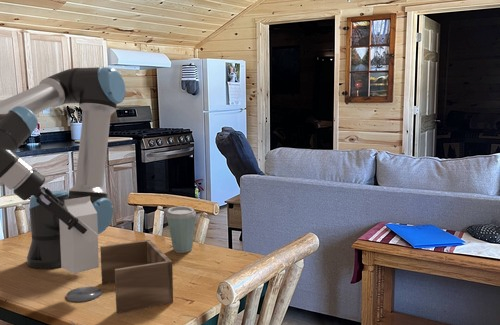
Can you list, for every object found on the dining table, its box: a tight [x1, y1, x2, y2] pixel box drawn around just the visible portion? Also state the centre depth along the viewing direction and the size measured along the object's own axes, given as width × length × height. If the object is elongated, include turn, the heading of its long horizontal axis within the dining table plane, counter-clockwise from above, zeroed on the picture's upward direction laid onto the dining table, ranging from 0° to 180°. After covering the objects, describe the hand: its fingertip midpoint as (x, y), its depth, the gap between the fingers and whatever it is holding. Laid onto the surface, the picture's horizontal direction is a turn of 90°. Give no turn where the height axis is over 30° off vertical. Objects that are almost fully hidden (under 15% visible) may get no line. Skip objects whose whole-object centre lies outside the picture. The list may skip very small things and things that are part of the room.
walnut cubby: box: [100, 239, 174, 314], centre depth 130 cm, size 22×14×11 cm, turn 27°
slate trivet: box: [65, 286, 102, 303], centre depth 129 cm, size 9×9×1 cm
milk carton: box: [59, 196, 100, 274], centre depth 126 cm, size 7×7×19 cm
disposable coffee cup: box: [165, 205, 197, 254], centre depth 167 cm, size 11×11×15 cm
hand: (91, 234), depth 127 cm, fingers closed on milk carton, 9 cm apart
